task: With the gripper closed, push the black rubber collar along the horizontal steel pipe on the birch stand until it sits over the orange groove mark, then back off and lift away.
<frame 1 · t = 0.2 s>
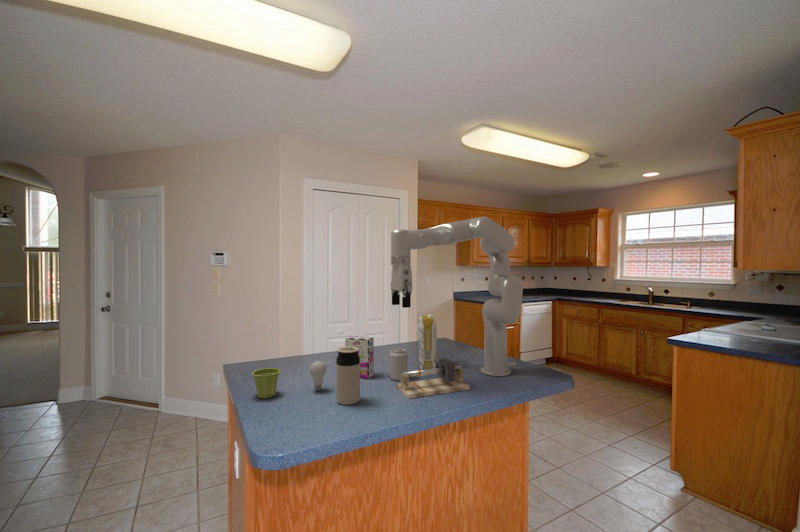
hand: (400, 306, 140), 31 cm above the countertop, tool pointing down, fingers open, 9 cm apart
can: (398, 379, 149), on the countertop
candy bar box: (359, 376, 152), on the countertop
juice carton: (427, 367, 165), on the countertop
pipe: (432, 371, 137), point 6 cm above the countertop
plant pot: (266, 396, 130), on the countertop
collar: (446, 369, 139), point 6 cm above the countertop, slide at -6.0 cm
lightbulb: (318, 391, 135), on the countertop
travel mug: (348, 401, 125), on the countertop
pipe stand: (432, 388, 137), on the countertop
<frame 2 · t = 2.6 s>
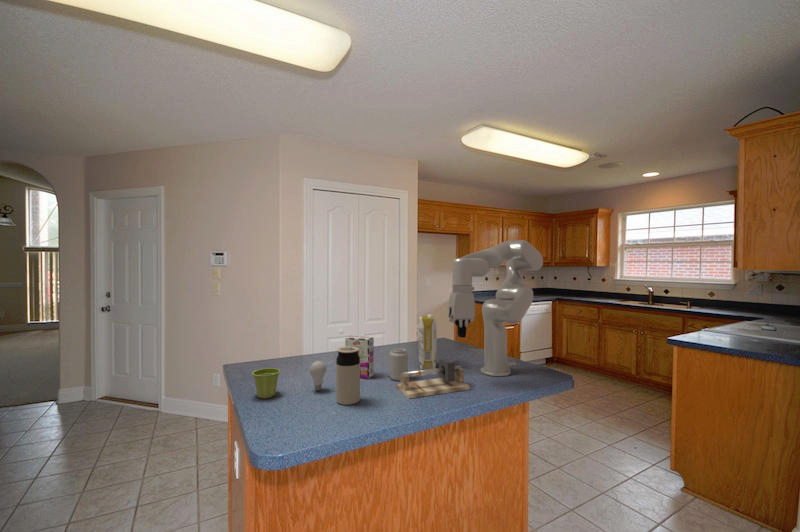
hand: (461, 336, 141), 19 cm above the countertop, tool pointing down, fingers closed
nothing on the countertop moved.
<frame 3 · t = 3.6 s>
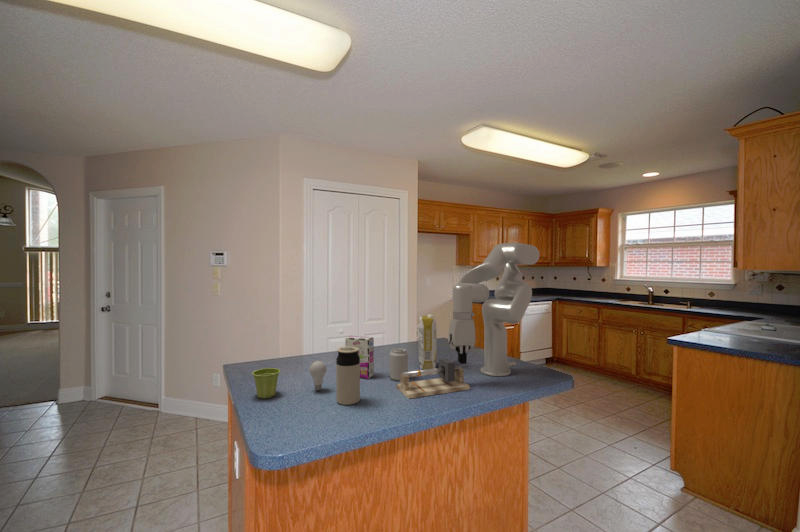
hand: (462, 362, 141), 8 cm above the countertop, tool pointing down, fingers closed
nothing on the countertop moved.
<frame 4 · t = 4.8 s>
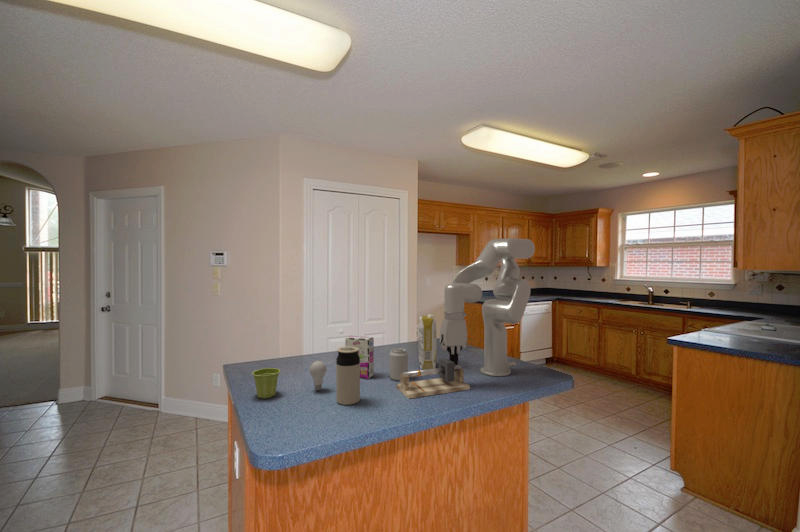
hand: (453, 363, 140), 8 cm above the countertop, tool pointing down, fingers closed
collar: (446, 369, 139), point 6 cm above the countertop, slide at -5.9 cm, touching gripper
everything else where it was.
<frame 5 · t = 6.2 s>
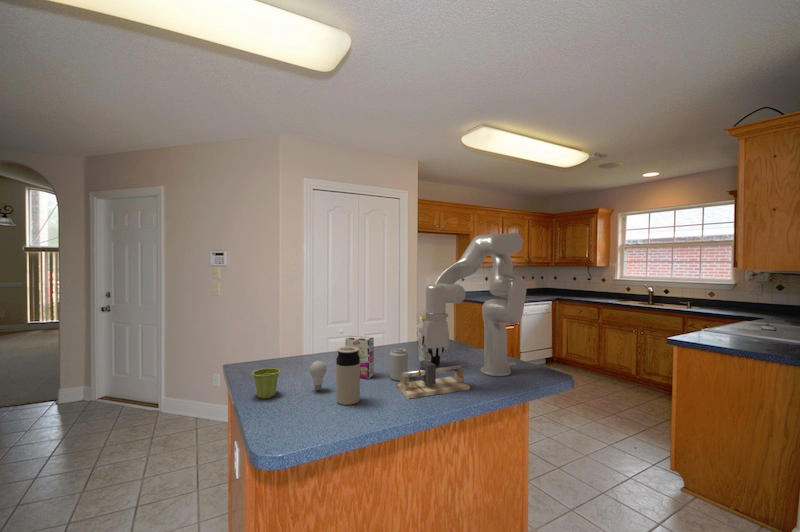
hand: (435, 365, 137), 8 cm above the countertop, tool pointing down, fingers closed
collar: (427, 372, 136), point 6 cm above the countertop, slide at 2.1 cm, touching gripper
everything else where it was.
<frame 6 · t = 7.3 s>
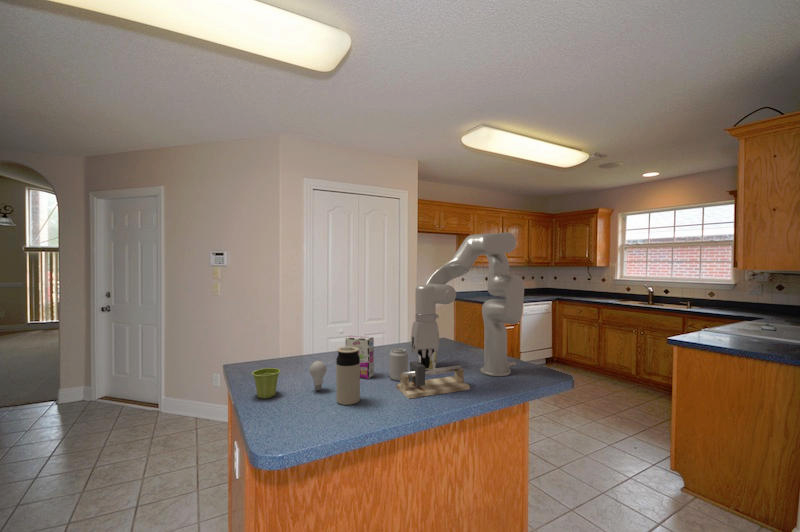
hand: (425, 367, 135), 8 cm above the countertop, tool pointing down, fingers closed
collar: (417, 373, 134), point 6 cm above the countertop, slide at 6.3 cm, touching gripper
everything else where it was.
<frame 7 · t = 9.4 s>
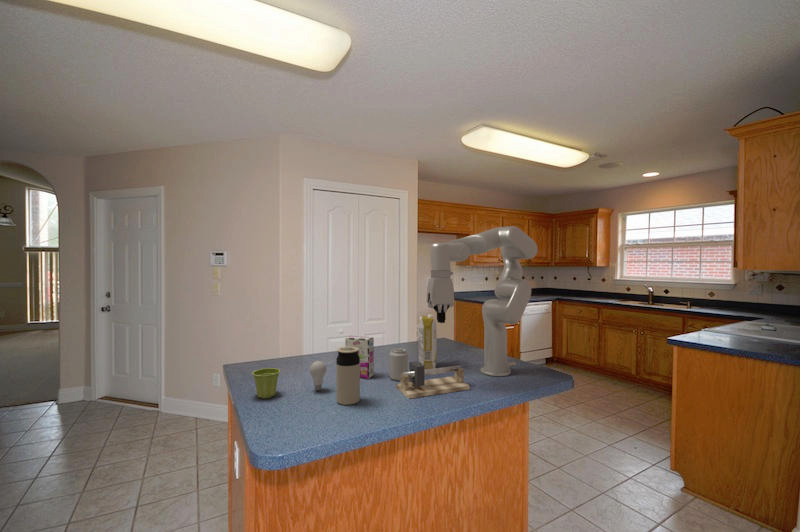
hand: (441, 322, 140), 24 cm above the countertop, tool pointing down, fingers closed
collar: (416, 373, 134), point 6 cm above the countertop, slide at 6.6 cm
everything else where it was.
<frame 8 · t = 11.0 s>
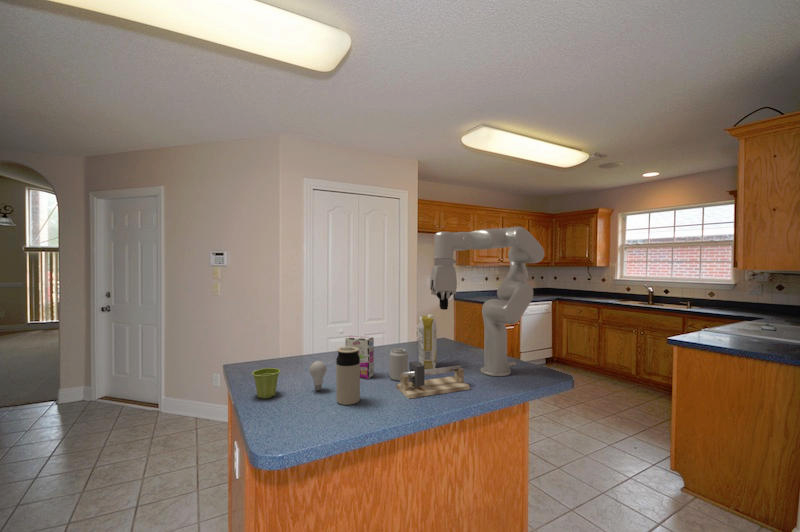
hand: (443, 309, 144), 29 cm above the countertop, tool pointing down, fingers closed
nothing on the countertop moved.
at the end: collar slide at 6.6 cm; collar 0.1 cm from the target spot, resting on pipe stand; collar touching nothing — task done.
